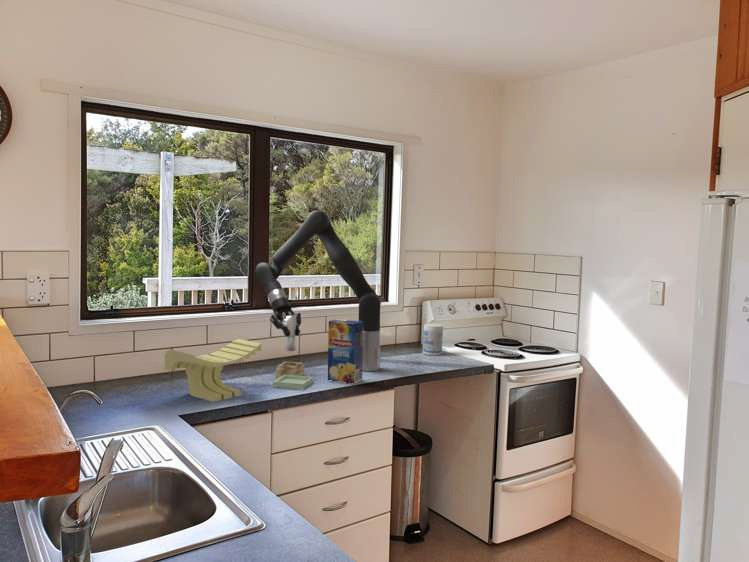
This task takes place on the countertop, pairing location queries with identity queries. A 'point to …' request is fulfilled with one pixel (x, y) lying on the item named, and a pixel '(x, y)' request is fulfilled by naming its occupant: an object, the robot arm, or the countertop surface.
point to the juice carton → (345, 350)
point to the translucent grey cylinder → (291, 333)
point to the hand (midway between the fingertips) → (293, 335)
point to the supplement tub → (432, 339)
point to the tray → (293, 381)
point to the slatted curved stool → (211, 368)
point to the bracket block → (290, 369)
